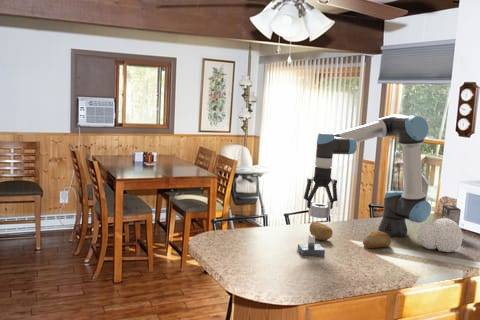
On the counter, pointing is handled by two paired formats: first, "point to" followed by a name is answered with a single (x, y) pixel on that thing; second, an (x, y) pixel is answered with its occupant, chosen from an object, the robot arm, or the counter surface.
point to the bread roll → (376, 239)
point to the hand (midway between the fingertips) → (319, 215)
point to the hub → (320, 210)
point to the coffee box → (451, 213)
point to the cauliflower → (441, 235)
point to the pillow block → (311, 248)
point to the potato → (320, 231)
